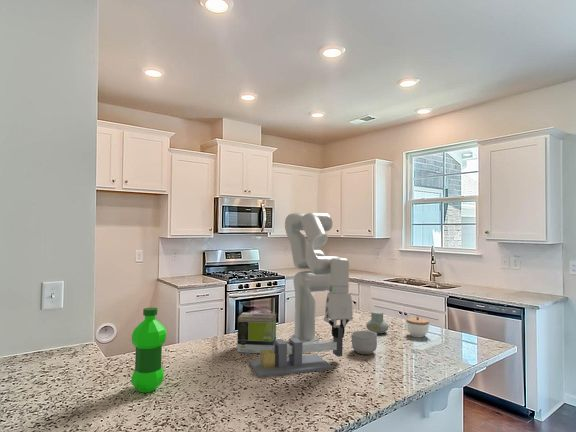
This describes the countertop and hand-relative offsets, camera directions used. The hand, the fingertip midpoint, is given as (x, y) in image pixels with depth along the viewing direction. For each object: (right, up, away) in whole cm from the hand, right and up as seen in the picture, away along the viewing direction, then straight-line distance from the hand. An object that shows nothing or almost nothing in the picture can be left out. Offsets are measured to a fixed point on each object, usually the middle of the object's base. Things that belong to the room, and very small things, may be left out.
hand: (338, 336), depth 149 cm
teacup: (+13, -11, +13) cm, 21 cm away
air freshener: (+26, -12, +44) cm, 52 cm away
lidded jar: (+44, -12, +39) cm, 60 cm away
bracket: (-19, -9, -7) cm, 22 cm away
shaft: (-11, -7, -4) cm, 13 cm away
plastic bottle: (-64, -7, -29) cm, 71 cm away
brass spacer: (-25, -5, -9) cm, 27 cm away
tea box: (-33, -10, +11) cm, 36 cm away
